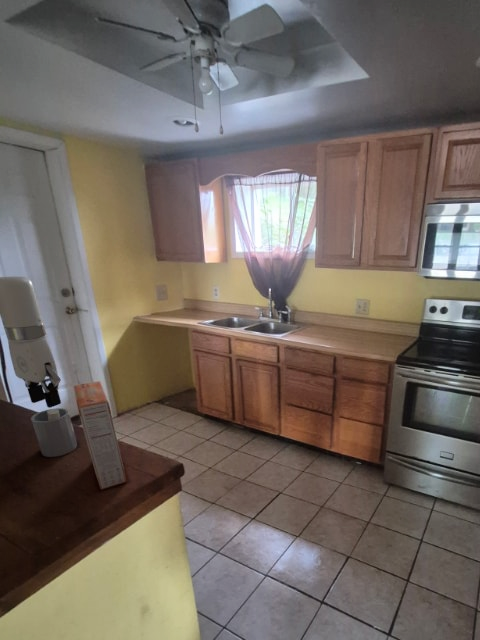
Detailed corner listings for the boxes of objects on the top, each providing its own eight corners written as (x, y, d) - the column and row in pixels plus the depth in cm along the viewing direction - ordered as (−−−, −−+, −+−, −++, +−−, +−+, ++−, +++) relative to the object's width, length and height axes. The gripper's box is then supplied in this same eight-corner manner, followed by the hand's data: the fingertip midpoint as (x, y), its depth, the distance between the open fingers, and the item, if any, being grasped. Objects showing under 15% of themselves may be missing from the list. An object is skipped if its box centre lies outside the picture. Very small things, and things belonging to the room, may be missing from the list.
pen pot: (34, 457, 95) (23, 422, 91) (53, 441, 102) (43, 408, 98) (66, 456, 95) (56, 422, 91) (83, 440, 103) (74, 408, 99)
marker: (51, 448, 97) (44, 413, 92) (56, 442, 99) (50, 408, 94) (61, 449, 98) (55, 414, 92) (66, 443, 100) (60, 409, 94)
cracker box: (92, 462, 93) (72, 384, 85) (118, 455, 96) (101, 379, 88) (98, 491, 82) (76, 406, 74) (127, 483, 85) (109, 400, 77)
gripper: (-13, 331, 87) (10, 402, 94) (31, 340, 80) (53, 415, 87) (21, 325, 93) (40, 392, 100) (65, 333, 86) (82, 404, 93)
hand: (46, 402), depth 93 cm, fingers open, 5 cm apart
